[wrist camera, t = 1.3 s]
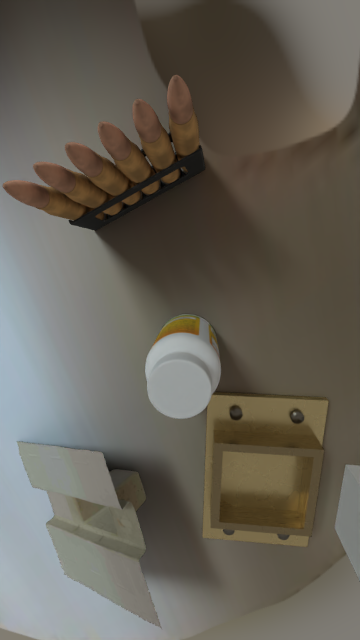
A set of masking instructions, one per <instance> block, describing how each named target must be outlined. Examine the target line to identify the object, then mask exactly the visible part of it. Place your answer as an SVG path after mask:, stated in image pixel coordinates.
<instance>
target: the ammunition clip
mask: <svg viewBox="0 0 360 640" xmlns="http://www.w3.org/2000/svg"><path fill="white" fill-rule="evenodd" d="M167 103H168V109H169V129H170V133H169V134H168V133H167V132H166V130H165V129H164V128H163V127H162V125H161V123H160V121H159V119H158V117H157V115H156V114H155V112H154V111H153V109H152V108H151V106H150V105H149V104H147V103H146V102H145V101H143V100H141V99H136V100H135V101H134V103H133V120H134V123H135V127H136V130H137V132H138V134H139V137H140V139H141V145H142V148H143V149H142V150H140V149H139V148H138V146H137V145H135V144H134V143H132V142H131V141H130V140H129V139H128V138H127V137H126V136H125V135H124V133H123V132H122V131H121V130H120V129H119V128H117V127H116V126H114V125H113V124H111V123H108V122H104V121H103V122H100V123H99V124H98V133H99V137H100V139H101V142H102V144H103V145H104V147H105V149H106V150H107V151H108V153H109V154H110V155H111V157H112V158H113V159H114V161H115V164H116V165H114V164H113V163H112V162H111V161H110V160H108V159H107V158H104V157H101V156H100V155H98V154H97V153H95V152H94V151H93V150H91V149H90V148H88V147H86V146H84V145H82V144H79V143H74V142H69V143H67V144H66V145H65V151H66V153H67V155H68V157H69V159H70V160H71V161H72V163H73V164H74V165H75V166H76V167H77V168H78V169H79V170H80V171H82V172H83V173H84V174H85V175H86V176H85V175H83V174H81V173H77V172H73V171H71V170H68V169H66V168H64V167H62V166H59V165H57V164H53V163H49V162H37V163H35V164H34V165H33V168H34V171H35V172H36V174H37V175H38V176H39V177H40V178H41V179H42V180H43V181H44V182H45V183H46V184H48V185H49V186H51V187H46V186H42V185H38V184H35V183H32V182H27V181H21V180H13V181H7V182H5V183H4V184H3V188H4V189H5V190H6V192H7V193H8V194H10V195H11V196H12V197H14V198H15V199H17V200H18V201H20V202H22V203H25V204H27V205H30V206H33V207H36V208H38V209H41V210H44V211H45V212H47V213H48V214H50V215H54V216H58V217H62V218H66V219H70V220H69V222H70V224H71V225H75V226H79V227H84V228H88V229H91V230H97V229H99V228H101V227H103V226H105V225H106V224H108V223H110V222H112V221H114V220H115V219H117V218H119V217H121V216H123V215H124V214H126V213H128V212H130V211H132V210H133V209H135V208H137V207H139V206H141V205H142V204H144V203H146V202H148V201H150V200H151V199H153V198H155V197H157V196H159V195H160V194H162V193H164V192H166V191H168V190H169V189H171V188H173V187H175V186H177V185H178V184H180V183H182V182H184V181H186V180H187V179H189V178H191V177H193V176H195V175H196V174H198V173H200V172H202V171H204V170H205V163H204V158H203V152H202V148H201V145H200V144H199V129H198V120H197V116H196V114H195V112H194V108H193V104H192V99H191V95H190V92H189V89H188V87H187V85H186V83H185V82H184V80H183V79H182V78H181V77H180V76H178V75H174V76H173V77H172V78H171V80H170V83H169V86H168V93H167ZM171 142H173V143H174V147H175V151H176V152H175V153H174V151H173V148H172V145H171ZM145 156H147V157H148V159H149V160H150V162H151V164H152V165H153V166H150V164H149V163H148V161H147V160H146V158H145ZM87 176H88V177H89V178H88V177H87ZM72 220H74V221H72Z"/></svg>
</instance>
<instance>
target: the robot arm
mask: <svg viewBox="0 0 360 640" xmlns="http://www.w3.org/2000/svg"><path fill="white" fill-rule="evenodd" d="M335 530H336V532H337V534H338V536H339V538H340V541H341V543H342V545H343V547H344V549H345V551H346V553H347V556H348V558H349V560H350V562H351V564H352V566H353V568H354V570H355V573H356V575H357V577H358V579H359V581H360V465H345V471H344V477H343V482H342V488H341V494H340V500H339V505H338V511H337V517H336V523H335Z"/></svg>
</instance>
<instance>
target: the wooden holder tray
mask: <svg viewBox="0 0 360 640" xmlns="http://www.w3.org/2000/svg"><path fill="white" fill-rule="evenodd" d="M328 402H329V401H328V399H327V398H326V397H306V396H286V395H266V394H245V393H225V392H214V393H213V394H212V395H211V399H210V401H209V403H208V405H207V425H206V453H205V480H204V507H203V538H213V539H224V540H235V541H246V542H258V543H269V544H280V545H291V546H302V547H307V545H308V538H309V537H311V536H312V529H313V523H314V516H315V509H316V503H317V496H318V489H319V482H320V476H321V469H322V462H323V456H324V449H323V447H322V443H323V436H324V429H325V423H326V416H327V409H328Z"/></svg>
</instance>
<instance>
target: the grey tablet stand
mask: <svg viewBox="0 0 360 640" xmlns="http://www.w3.org/2000/svg"><path fill="white" fill-rule="evenodd" d="M17 443H18V446H19V454H20V456H21V459H22V461H23V464H24V466H25V470H26V472H27V475H28V477H29V479H30V482H31V485H32V487H33V488H38V489H41V490H46V491H47V494H48V496H49V499H50V503H51V504H52V508H53V512H54V514H55V515H54V517H53V518H52V519H51V520H50V521H48V522H47V523H46V526H47V529H48V531H49V535H50V536H51V538H52V541H53V545H54V547H55V550H56V552H57V554H58V558H59V560H60V564H61V565H62V566H61V567H62V569H63V570H64V574H65V575H67V577H69V578H71V579H73V580H74V581H77V582H79V583H81V584H83V585H85V586H86V587H89V588H90V589H92V590H93V591H96V592H97V593H98V594H100V595H101V596H103V597H105V598H107V599H109V600H111V601H112V602H113V603H115V604H118V605H120V606H121V607H122V608H124V609H126V610H128V611H131V613H133V614H137V615H138V616H139V617H141V618H142V619H144V620H147V621H148V622H150V623H152V624H155V625H156V626H158V627H161V626H160V622H159V619H158V616H157V613H156V611H155V608H154V607H155V606H154V604H153V602H152V599H151V596H150V592H148V587H147V584H146V581H145V579H144V575H143V573H142V572H141V566H140V563H139V560H140V558H141V557H142V556H143V554H144V553H145V551H146V550H145V548H146V546H145V543H144V539H143V535H142V530H141V529H140V525H139V521H138V517H137V516H136V511H137V510H138V509H139V507H140V506H141V505H142V504H143V503H144V502H145V500H146V495H145V491H144V488H143V485H142V482H141V480H140V477H139V474H138V472H135V471H128V470H119V469H114V470H112V471H110V472H109V471H108V468H107V466H106V461H105V459H104V455H103V453H101V452H100V451H99V452H97V451H94V452H93V451H89V450H82V451H81V450H80V449H78V450H76V449H71V448H66V447H64V448H63V447H59V446H50V445H42V444H35V443H32V444H31V443H25V442H22V443H21V442H18V441H17ZM92 452H93V453H92ZM161 629H162V628H161Z"/></svg>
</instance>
